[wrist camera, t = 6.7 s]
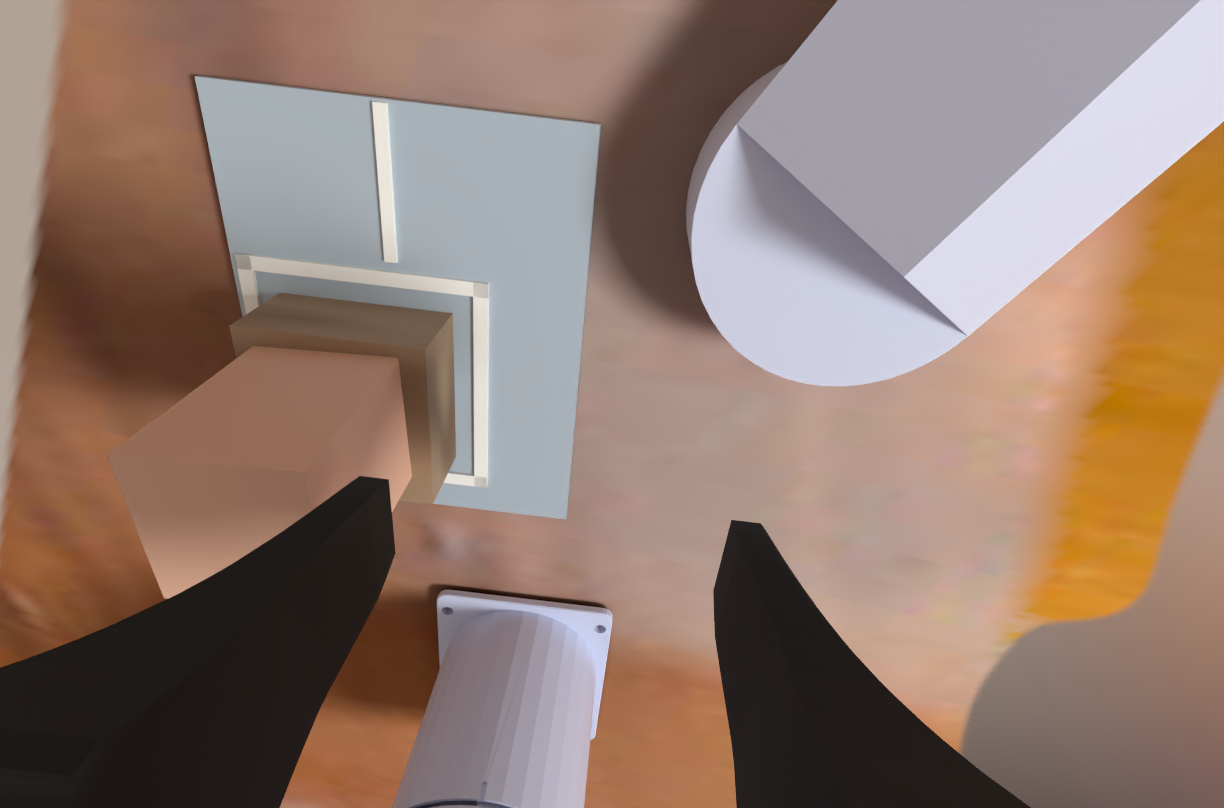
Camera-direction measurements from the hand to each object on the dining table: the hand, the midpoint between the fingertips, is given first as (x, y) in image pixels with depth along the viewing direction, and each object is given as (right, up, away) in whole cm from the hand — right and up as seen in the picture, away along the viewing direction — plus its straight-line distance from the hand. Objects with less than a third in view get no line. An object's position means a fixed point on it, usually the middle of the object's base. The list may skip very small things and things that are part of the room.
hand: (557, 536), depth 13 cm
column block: (-8, +2, +7) cm, 11 cm away
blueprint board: (-6, +5, +9) cm, 12 cm away
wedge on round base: (+9, +10, +6) cm, 15 cm away
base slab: (-8, +4, +10) cm, 13 cm away
